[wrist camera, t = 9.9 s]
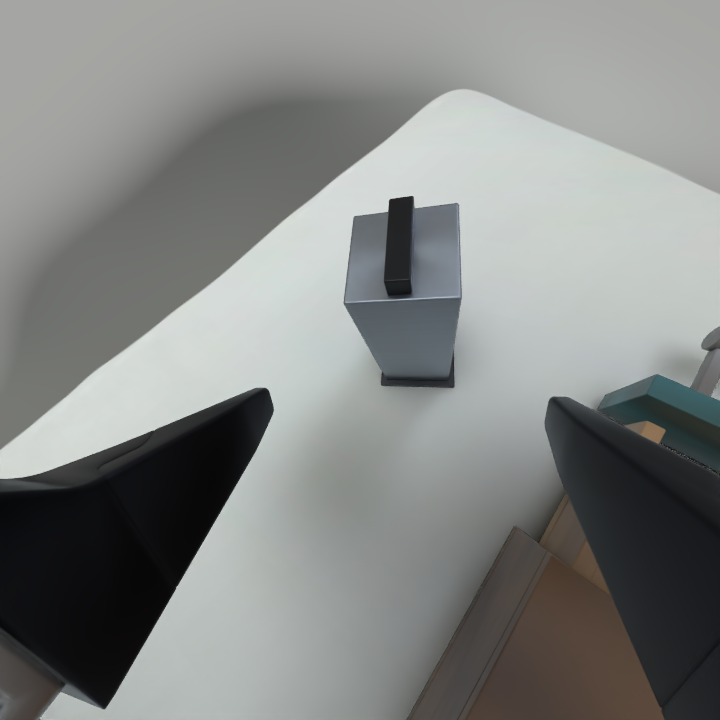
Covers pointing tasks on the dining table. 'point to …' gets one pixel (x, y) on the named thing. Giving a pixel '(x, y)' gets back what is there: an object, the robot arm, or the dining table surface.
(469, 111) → the dining table surface
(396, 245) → the grey box with handle
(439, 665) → the cabinet
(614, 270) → the dining table surface
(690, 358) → the dining table surface
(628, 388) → the drawer
